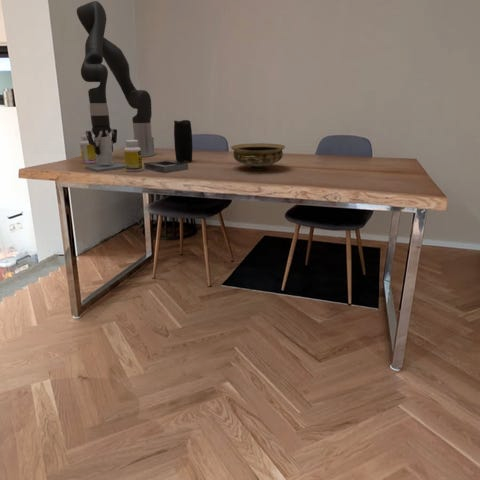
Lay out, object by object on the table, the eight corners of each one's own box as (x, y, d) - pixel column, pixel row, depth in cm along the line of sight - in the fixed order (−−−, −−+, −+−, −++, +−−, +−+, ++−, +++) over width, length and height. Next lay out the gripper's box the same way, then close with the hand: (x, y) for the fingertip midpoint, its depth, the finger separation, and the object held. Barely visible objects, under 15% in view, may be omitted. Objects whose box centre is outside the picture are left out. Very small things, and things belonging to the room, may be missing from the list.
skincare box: (114, 163, 179) (111, 136, 175) (108, 165, 175) (104, 137, 171) (103, 162, 181) (100, 136, 177) (97, 164, 177) (93, 136, 173)
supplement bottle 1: (99, 161, 196) (96, 134, 191) (93, 163, 190) (89, 136, 185) (86, 161, 196) (82, 134, 192) (80, 163, 190) (76, 136, 186)
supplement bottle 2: (142, 171, 170) (139, 141, 166) (125, 172, 169) (122, 141, 165) (143, 168, 177) (140, 139, 172) (126, 169, 176) (124, 139, 171)
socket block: (168, 165, 186) (167, 159, 185) (188, 169, 176) (187, 163, 175) (144, 168, 177) (143, 163, 176) (164, 173, 168) (163, 167, 167)
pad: (113, 164, 187) (113, 162, 187) (126, 167, 179) (126, 165, 179) (85, 168, 178) (84, 166, 178) (97, 171, 170) (97, 169, 170)
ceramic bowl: (241, 162, 194) (241, 141, 190) (290, 164, 187) (290, 143, 184) (221, 173, 167) (221, 149, 163) (276, 176, 160) (277, 151, 157)
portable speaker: (187, 159, 201) (185, 119, 194) (196, 162, 194) (194, 120, 187) (172, 161, 197) (169, 120, 190) (180, 163, 189) (178, 121, 183)
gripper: (110, 113, 178) (114, 151, 184) (79, 114, 168) (85, 154, 174) (119, 114, 173) (123, 153, 179) (87, 115, 163) (93, 156, 169)
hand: (104, 153), depth 176 cm, fingers closed on skincare box, 5 cm apart
